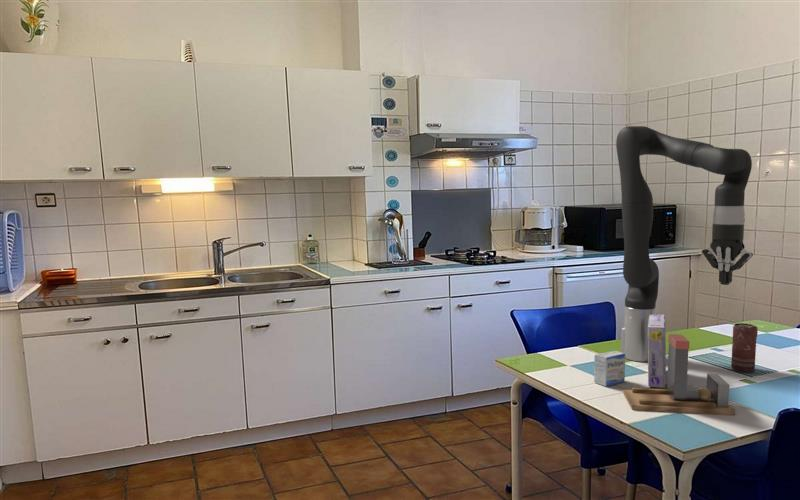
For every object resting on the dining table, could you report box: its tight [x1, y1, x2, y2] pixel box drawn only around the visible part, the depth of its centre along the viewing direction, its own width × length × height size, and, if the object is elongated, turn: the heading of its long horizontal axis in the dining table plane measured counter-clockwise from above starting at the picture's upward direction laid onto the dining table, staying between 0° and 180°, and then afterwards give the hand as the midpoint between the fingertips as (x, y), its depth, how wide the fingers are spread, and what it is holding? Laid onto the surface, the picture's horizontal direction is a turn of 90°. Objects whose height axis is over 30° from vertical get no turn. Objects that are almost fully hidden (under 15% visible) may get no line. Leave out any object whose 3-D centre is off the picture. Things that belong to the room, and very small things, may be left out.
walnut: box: [696, 386, 711, 401], centre depth 143 cm, size 4×4×4 cm
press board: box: [622, 387, 736, 416], centre depth 144 cm, size 24×11×2 cm, turn 79°
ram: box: [666, 333, 699, 402], centre depth 143 cm, size 6×6×16 cm
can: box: [730, 322, 759, 374], centre depth 168 cm, size 6×6×14 cm
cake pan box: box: [647, 314, 667, 389], centre depth 163 cm, size 19×5×18 cm, turn 155°
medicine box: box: [593, 350, 626, 388], centre depth 160 cm, size 8×4×9 cm, turn 117°
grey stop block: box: [706, 373, 730, 408], centre depth 142 cm, size 2×8×6 cm, turn 169°
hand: (725, 284), depth 154 cm, fingers closed
